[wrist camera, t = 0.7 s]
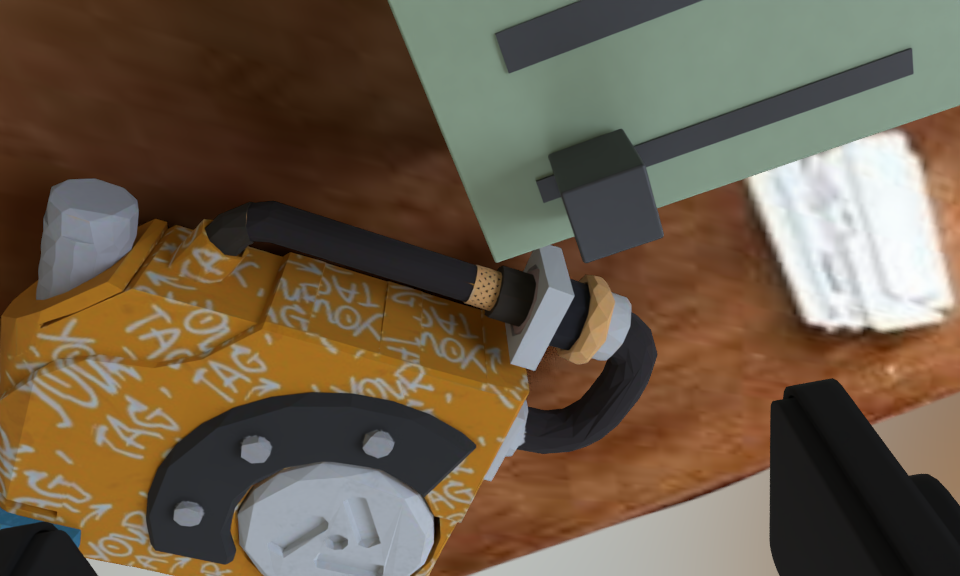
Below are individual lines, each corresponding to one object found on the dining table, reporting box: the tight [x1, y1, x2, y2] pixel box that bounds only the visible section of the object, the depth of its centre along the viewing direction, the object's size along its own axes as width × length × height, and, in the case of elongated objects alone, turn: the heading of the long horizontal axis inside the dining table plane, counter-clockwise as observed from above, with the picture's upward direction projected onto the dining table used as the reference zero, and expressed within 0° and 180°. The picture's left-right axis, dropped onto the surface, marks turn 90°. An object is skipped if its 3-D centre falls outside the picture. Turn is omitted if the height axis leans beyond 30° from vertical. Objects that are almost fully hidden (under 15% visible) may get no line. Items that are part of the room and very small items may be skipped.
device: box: [0, 179, 657, 576], centre depth 37 cm, size 23×8×30 cm
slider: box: [548, 129, 664, 263], centre depth 22 cm, size 2×2×3 cm
